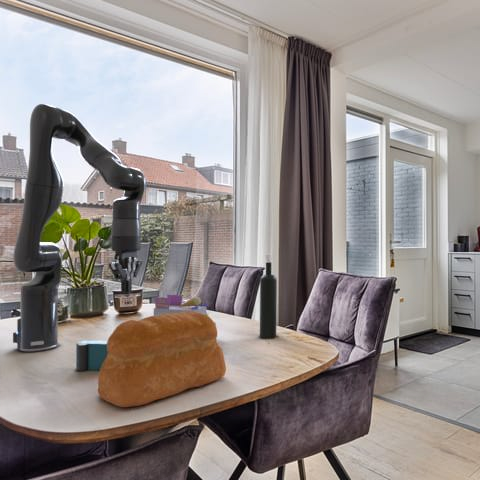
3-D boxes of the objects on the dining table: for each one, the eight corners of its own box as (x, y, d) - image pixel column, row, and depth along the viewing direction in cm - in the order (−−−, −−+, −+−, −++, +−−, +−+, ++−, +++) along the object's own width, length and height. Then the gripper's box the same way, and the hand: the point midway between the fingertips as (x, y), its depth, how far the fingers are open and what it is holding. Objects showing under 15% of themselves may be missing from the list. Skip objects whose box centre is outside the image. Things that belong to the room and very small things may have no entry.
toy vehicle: (202, 345, 134) (203, 299, 133) (150, 341, 138) (150, 297, 137) (218, 338, 143) (218, 295, 142) (168, 334, 147) (168, 293, 146)
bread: (232, 378, 103) (232, 310, 103) (123, 415, 82) (124, 329, 82) (196, 366, 113) (196, 304, 112) (90, 396, 91) (90, 319, 91)
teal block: (72, 371, 108) (72, 344, 108) (89, 363, 114) (89, 338, 114) (116, 372, 107) (116, 345, 107) (131, 364, 113) (131, 339, 113)
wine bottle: (277, 334, 149) (278, 252, 148) (274, 338, 143) (275, 253, 143) (261, 334, 149) (262, 252, 148) (258, 338, 143) (258, 253, 142)
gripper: (127, 234, 127) (127, 290, 127) (98, 234, 114) (98, 296, 114) (151, 234, 127) (151, 290, 127) (124, 234, 113) (124, 296, 114)
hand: (126, 293), depth 120 cm, fingers closed
